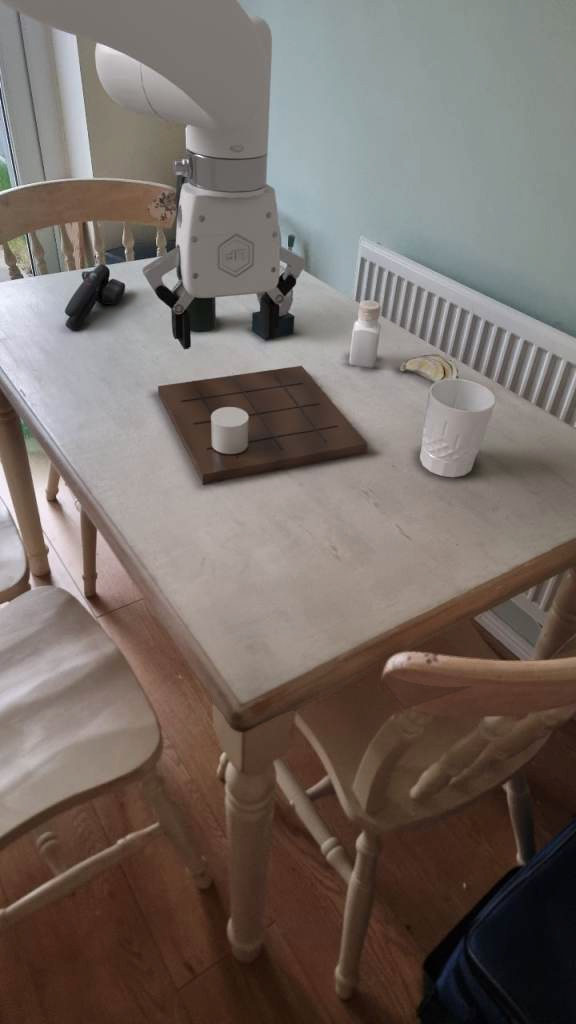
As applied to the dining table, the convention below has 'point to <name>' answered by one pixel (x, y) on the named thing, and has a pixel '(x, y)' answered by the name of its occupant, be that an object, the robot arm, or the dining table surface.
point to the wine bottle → (199, 308)
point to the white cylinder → (229, 430)
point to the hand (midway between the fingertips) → (226, 339)
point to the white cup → (455, 426)
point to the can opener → (92, 295)
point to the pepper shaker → (366, 335)
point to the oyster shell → (431, 367)
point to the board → (261, 422)
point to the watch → (284, 316)
